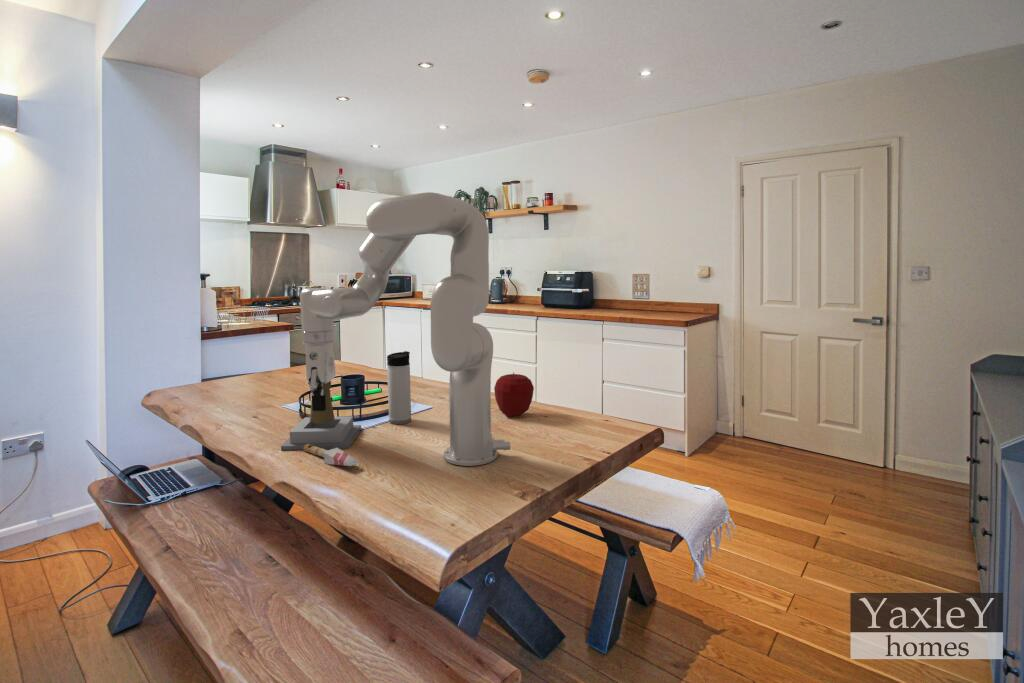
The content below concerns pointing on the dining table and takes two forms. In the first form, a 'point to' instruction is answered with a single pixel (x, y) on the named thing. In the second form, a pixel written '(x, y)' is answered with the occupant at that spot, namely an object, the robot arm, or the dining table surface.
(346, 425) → the holder
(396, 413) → the travel mug
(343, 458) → the paintbrush
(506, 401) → the apple
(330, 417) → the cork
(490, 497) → the dining table surface
